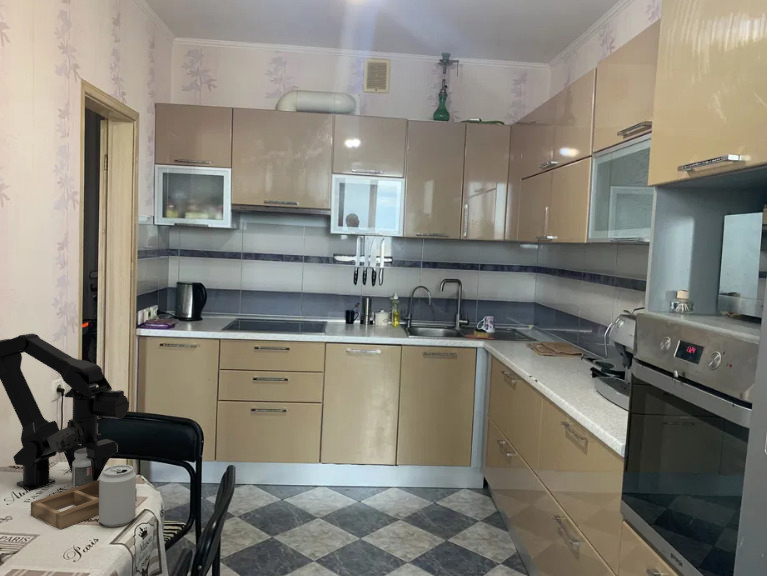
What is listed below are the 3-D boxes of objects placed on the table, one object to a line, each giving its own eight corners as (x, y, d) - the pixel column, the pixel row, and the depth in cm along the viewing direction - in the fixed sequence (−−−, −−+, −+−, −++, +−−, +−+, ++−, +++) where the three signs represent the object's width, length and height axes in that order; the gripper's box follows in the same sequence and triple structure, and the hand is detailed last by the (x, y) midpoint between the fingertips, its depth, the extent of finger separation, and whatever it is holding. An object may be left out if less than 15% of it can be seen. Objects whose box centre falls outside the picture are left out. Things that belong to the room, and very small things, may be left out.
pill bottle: (102, 487, 147) (102, 449, 147) (82, 495, 142) (83, 456, 141) (86, 483, 149) (86, 445, 149) (66, 491, 144) (66, 452, 144)
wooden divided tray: (30, 515, 131) (30, 502, 130) (106, 489, 146) (106, 477, 146) (61, 529, 124) (61, 515, 124) (136, 500, 140) (136, 488, 140)
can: (121, 530, 125) (122, 476, 124) (90, 526, 126) (91, 472, 126) (142, 516, 132) (143, 464, 132) (113, 512, 134) (114, 461, 133)
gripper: (31, 415, 143) (31, 477, 143) (76, 429, 133) (75, 495, 134) (75, 406, 152) (74, 464, 153) (119, 418, 143) (118, 480, 143)
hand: (84, 476), depth 146 cm, fingers open, 9 cm apart
